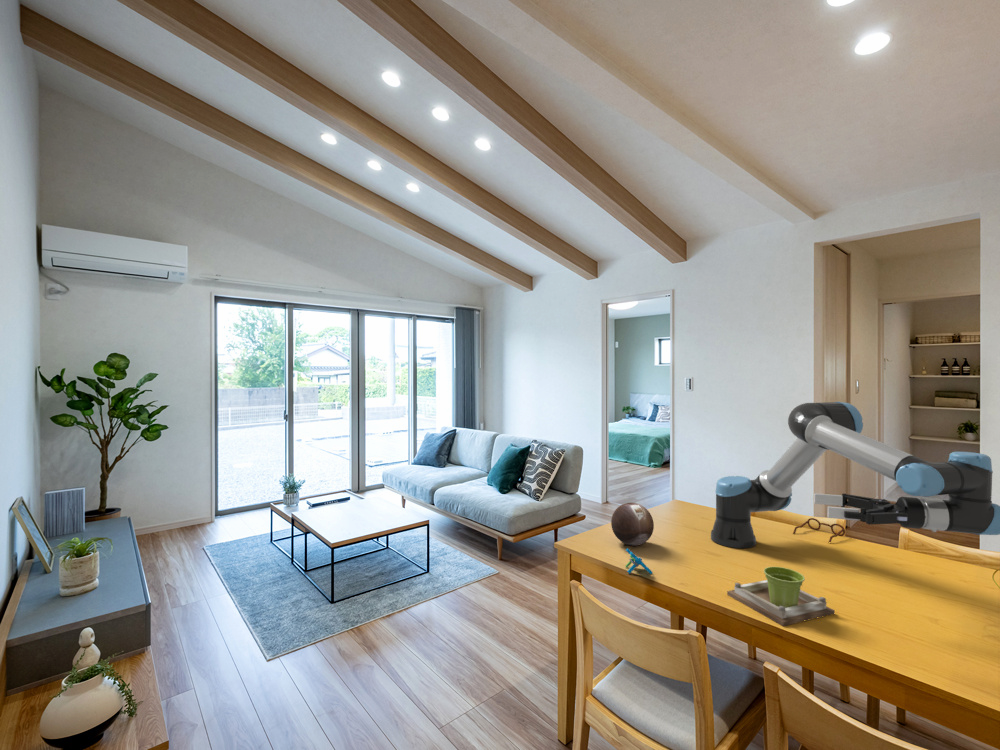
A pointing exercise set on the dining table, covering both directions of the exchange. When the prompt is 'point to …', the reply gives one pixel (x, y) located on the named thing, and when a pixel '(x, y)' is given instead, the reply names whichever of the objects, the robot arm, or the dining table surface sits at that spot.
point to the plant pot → (783, 586)
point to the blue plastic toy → (636, 562)
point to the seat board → (759, 601)
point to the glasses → (820, 526)
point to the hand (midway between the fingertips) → (820, 504)
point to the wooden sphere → (632, 524)
